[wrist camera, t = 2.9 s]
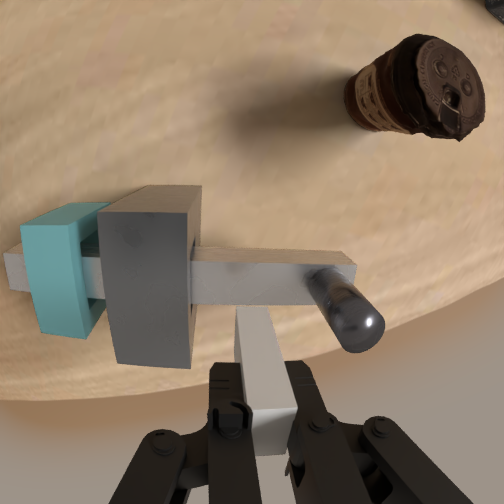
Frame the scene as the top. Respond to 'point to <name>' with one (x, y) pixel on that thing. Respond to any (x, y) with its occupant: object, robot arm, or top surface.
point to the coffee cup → (418, 91)
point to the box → (496, 8)
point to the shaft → (255, 284)
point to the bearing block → (151, 273)
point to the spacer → (62, 268)
